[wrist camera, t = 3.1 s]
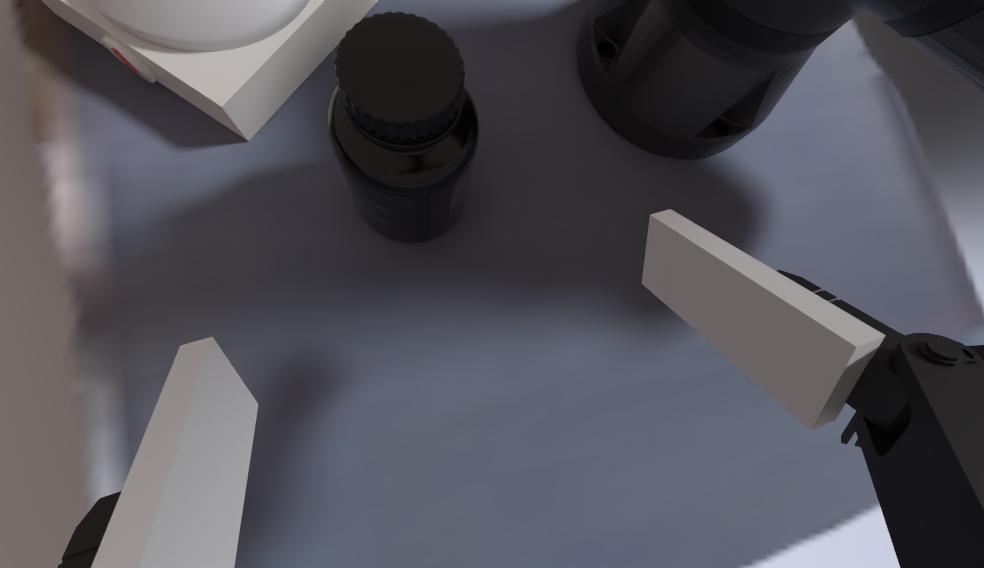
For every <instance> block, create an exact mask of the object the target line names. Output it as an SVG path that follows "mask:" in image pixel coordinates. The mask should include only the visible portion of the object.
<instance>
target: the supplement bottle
mask: <svg viewBox="0 0 984 568" xmlns="http://www.w3.org/2000/svg"><path fill="white" fill-rule="evenodd" d="M334 67H335V70H336V72H335V78H336V81H337V87H336V89H335V90H334V93H333V95H332V97H331V100H330V103H329V108H328V116H327V124H328V132H329V136H330V140H331V143H332V146H333V149H334V152H335V154H336V157H337V159H338V161H339V164H340V166H341V169H342V171H343V173H344V176H345V178H346V181H347V183H348V185H349V188H350V190H351V192H352V195H353V197H354V200H355V202H356V204H357V206H358V208H359V210H360V212H361V214H362V216H363V217H364V219H365V220H366V221H367V223H368V224H369V225H370V226H371V227H372V228H373V229H374V230H376V231H377V232H378V233H380V234H382V235H383V236H385V237H387V238H390V239H393V240H396V241H400V242H408V243H415V242H423V241H427V240H430V239H433V238H435V237H437V236H439V235H441V234H442V233H444V232H445V231H446V230H447V229H449V228H450V227H451V226H452V224H453V223H454V222H455V221H456V219H457V217H458V216H459V214H460V212H461V209H462V206H463V203H464V199H465V195H466V191H467V187H468V182H469V178H470V174H471V170H472V165H473V161H474V157H475V153H476V148H477V144H478V136H479V121H478V115H477V110H476V107H475V104H474V102H473V100H472V97H471V96H470V94H469V92H468V91H467V89H466V88H465V86H464V77H465V71H464V68H463V59H462V58H461V56H460V55H459V49H458V48H457V47H456V46H455V45H454V42H453V39H451V38H450V37H448V36H447V34H446V32H445V31H444V30H442V29H440V28H439V27H438V26H437V25H436V24H435V23H432V22H429V21H428V20H427V19H425V18H423V17H417V16H416V15H414V14H405V13H402V12H397V13H392V12H386V13H384V14H375V15H373V16H372V17H366V18H364V19H363V20H362V21H361V22H359V23H356V24H354V26H353V28H352V29H350V30H348V31H347V32H346V34H345V37H344V38H343V39H342V40H340V47H339V48H338V49H337V50H336V59H335V62H334Z"/></svg>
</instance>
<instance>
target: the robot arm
mask: <svg viewBox="0 0 984 568" xmlns="http://www.w3.org/2000/svg"><path fill="white" fill-rule="evenodd" d="M861 11H864V12H866V13H868V14H870V15H872V16H874V17H875V18H876V19H878V20H880V21H881V22H883V23H884V24H886V25H887V26H889V27H890V28H891V29H893V30H894V31H896V32H898V34H900V35H901V36H903V37H904V38H906V39H907V40H908V41H910V42H911V43H913V44H914V45H916V46H917V47H918V48H920V49H921V50H923V51H924V52H926V53H927V54H928V55H930V56H931V57H932V58H934V59H935V60H937V61H938V62H940V63H941V64H942V65H944V66H945V67H947V68H948V69H949V70H951V71H952V72H954V73H955V74H957V75H958V76H959V77H961V78H962V79H964V80H965V81H966V82H968V83H969V84H971V85H972V86H974V87H975V88H977V89H978V90H979V91H981V92H982V93H983V94H984V0H594V1H593V3H592V5H591V7H590V9H589V11H588V14H587V16H586V18H585V20H584V22H583V25H582V27H581V30H580V34H579V38H578V46H577V59H578V67H579V72H580V75H581V79H582V82H583V85H584V87H585V89H586V92H587V94H588V96H589V98H590V99H591V101H592V103H593V104H594V106H595V107H596V109H597V110H598V112H599V113H600V114H601V115H602V117H603V118H604V119H605V120H606V121H607V122H608V123H609V124H610V125H611V126H612V127H613V128H614V129H615V130H616V131H618V132H619V133H620V134H621V135H623V136H624V137H625V138H627V139H628V140H630V141H631V142H633V143H635V144H636V145H638V146H640V147H642V148H644V149H647V150H649V151H652V152H654V153H657V154H660V155H664V156H668V157H674V158H684V159H692V158H702V157H707V156H711V155H714V154H717V153H720V152H722V151H724V150H726V149H728V148H730V147H731V146H733V145H734V144H735V143H737V142H738V141H740V140H741V139H742V138H744V137H745V136H746V135H748V134H749V133H751V132H752V131H753V130H754V129H756V128H757V127H758V126H759V125H760V124H761V123H762V122H763V121H764V120H765V119H766V118H767V116H768V115H769V114H770V113H771V111H772V110H773V108H774V107H775V105H776V104H777V103H778V101H779V100H780V98H781V97H782V95H783V94H784V93H785V91H786V90H787V88H788V87H789V85H790V84H791V83H792V81H793V80H794V78H795V77H796V75H797V74H798V73H799V71H800V70H801V68H802V67H803V65H804V64H805V63H806V61H807V60H808V58H809V57H810V55H811V54H812V53H813V51H814V50H815V48H816V47H817V46H818V45H819V44H821V43H822V42H823V41H824V40H825V39H827V38H828V37H829V36H830V35H831V34H833V33H834V32H835V31H836V30H837V29H839V28H840V27H841V26H842V25H843V24H845V23H846V22H848V21H849V20H850V19H852V18H853V17H855V16H856V15H857V14H859V13H860V12H861ZM642 284H643V285H644V286H645V287H646V288H647V289H649V290H650V291H651V292H652V293H653V294H654V295H655V296H657V297H658V298H659V299H660V300H661V301H662V302H663V303H665V304H666V305H667V306H668V307H669V308H670V309H671V310H673V311H674V312H675V313H676V314H677V315H678V316H680V317H681V318H682V319H683V320H684V321H685V322H686V323H688V324H689V325H690V326H691V327H692V328H693V329H694V330H696V331H697V332H698V333H699V334H700V335H701V336H703V337H704V338H705V339H706V340H707V341H708V342H709V343H711V344H712V345H713V346H714V347H715V348H716V349H717V350H719V351H720V352H721V353H722V354H723V355H724V356H726V357H727V358H728V359H729V360H730V361H731V362H732V363H734V364H735V365H736V366H737V367H738V368H739V369H740V370H742V371H743V372H744V373H745V374H746V375H747V376H748V377H750V378H751V379H752V380H753V381H754V382H755V383H757V384H758V385H759V386H760V387H761V388H762V389H763V390H765V391H766V392H767V393H768V394H769V395H770V396H771V397H773V398H774V399H775V400H776V401H777V402H778V403H780V404H781V405H782V406H783V407H784V408H785V409H786V410H788V411H789V412H790V413H791V414H792V415H793V416H794V417H796V418H797V419H798V420H799V421H800V422H801V423H803V424H804V425H805V426H806V427H807V428H808V429H809V430H813V429H815V428H818V427H820V426H822V425H824V424H827V423H829V422H831V421H834V420H836V418H837V416H838V415H839V413H840V411H841V410H842V408H843V406H844V405H845V403H847V404H848V405H850V406H851V407H852V408H854V409H855V410H856V413H855V414H854V416H853V417H852V419H851V421H850V422H849V424H848V425H847V427H846V428H845V430H844V432H843V433H842V435H841V443H844V444H847V443H848V442H849V440H850V439H851V437H852V436H853V434H854V432H856V433H857V436H858V440H857V441H856V443H855V446H858V447H861V448H862V451H863V454H864V457H865V460H866V463H867V466H868V470H869V473H870V476H871V479H872V482H873V485H874V488H875V491H876V494H877V497H878V500H879V503H880V506H881V509H882V512H883V515H884V519H885V521H886V525H887V528H888V531H889V534H890V537H891V540H892V543H893V546H894V549H895V552H896V555H897V558H898V562H899V565H900V567H901V568H984V345H978V346H965V345H963V344H962V343H959V342H957V341H954V340H952V339H949V338H947V337H943V336H939V335H934V334H930V333H913V334H909V335H906V336H905V335H903V334H901V333H899V332H897V331H895V330H893V329H892V328H890V327H888V326H886V325H885V324H883V323H881V322H879V321H878V320H876V319H874V318H872V317H871V316H869V315H867V314H865V313H864V312H862V311H860V310H858V309H857V308H855V307H853V306H851V305H850V304H848V303H846V302H844V301H842V300H837V297H835V296H834V295H832V294H830V293H828V292H827V291H822V290H821V288H820V287H818V286H816V285H814V284H813V283H811V282H809V281H807V280H806V279H804V278H802V277H799V276H796V275H793V274H790V273H787V272H784V271H781V270H778V271H775V270H773V269H772V268H770V267H768V266H767V265H765V264H763V263H761V262H760V261H758V260H756V259H755V258H753V257H751V256H750V255H748V254H746V253H744V252H743V251H741V250H739V249H738V248H736V247H734V246H733V245H731V244H729V243H727V242H726V241H724V240H722V239H721V238H719V237H717V236H716V235H714V234H712V233H710V232H709V231H707V230H705V229H704V228H702V227H700V226H698V225H697V224H695V223H693V222H692V221H690V220H688V219H687V218H685V217H683V216H681V215H680V214H678V213H676V212H675V211H673V210H671V209H668V210H665V211H661V212H657V213H654V214H650V219H649V227H648V235H647V243H646V251H645V260H644V268H643V276H642ZM257 411H258V403H257V402H256V400H255V399H254V397H253V396H252V394H251V393H250V391H249V390H248V388H247V387H246V385H245V384H244V382H243V381H242V379H241V378H240V377H239V375H238V374H237V372H236V371H235V369H234V368H233V366H232V365H231V363H230V362H229V360H228V359H227V357H226V356H225V354H224V353H223V351H222V350H221V348H220V347H219V345H218V344H217V343H216V341H215V340H214V338H213V337H209V338H205V339H202V340H198V341H195V342H191V343H188V344H184V345H180V347H179V350H178V352H177V355H176V357H175V360H174V362H173V365H172V367H171V370H170V372H169V375H168V377H167V380H166V382H165V385H164V387H163V390H162V392H161V395H160V397H159V400H158V402H157V405H156V407H155V410H154V412H153V415H152V417H151V420H150V422H149V425H148V427H147V430H146V432H145V435H144V437H143V439H142V442H141V444H140V447H139V449H138V452H137V454H136V457H135V459H134V462H133V464H132V467H131V469H130V472H129V474H128V477H127V479H126V482H125V484H124V487H123V489H122V491H121V492H118V493H115V494H112V495H109V496H106V497H103V498H100V499H99V500H98V501H97V502H96V503H95V505H94V506H93V507H92V508H91V510H90V511H89V512H88V514H87V515H86V516H85V517H84V519H83V520H82V521H81V522H80V524H79V525H78V526H77V527H76V529H75V531H74V533H73V535H72V538H71V540H70V542H69V544H68V546H67V548H66V551H65V553H64V555H63V557H62V560H63V562H62V564H60V565H59V566H58V568H234V566H235V559H236V552H237V545H238V539H239V532H240V525H241V518H242V512H243V505H244V498H245V491H246V485H247V478H248V471H249V465H250V458H251V451H252V444H253V438H254V431H255V424H256V417H257Z"/></svg>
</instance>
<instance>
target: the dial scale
mask: <svg viewBox="0 0 984 568" xmlns="http://www.w3.org/2000/svg"><path fill="white" fill-rule="evenodd" d="M41 1H43V2H44V3H45V4H46V5H47V6H48V7H49V8H50V9H51V10H52V11H53V12H54V13H55V14H56V15H58V16H59V17H61V18H62V19H64V20H65V21H67V22H68V23H70V24H71V25H73V26H74V27H76V28H77V29H79V30H80V31H82V32H83V33H85V34H86V35H88V36H90V37H91V38H93V39H94V40H96V41H97V42H99V43H100V44H102V45H103V46H105V47H106V48H107V49H108V50H109V51H110V52H112V53H113V54H114V55H115V56H116V57H117V58H118V59H119V60H121V61H122V62H123V63H124V64H125V65H127V66H128V67H129V68H130V69H131V70H132V71H133V72H134V73H137V74H138V75H140V76H141V77H143V78H144V79H146V80H147V81H149V82H151V83H154V82H156V81H158V82H159V83H161V84H162V85H164V86H165V87H167V88H168V89H170V90H171V91H173V92H174V93H176V94H177V95H179V96H180V97H182V98H183V99H185V100H187V101H188V102H190V103H191V104H193V105H194V106H196V107H197V108H199V109H200V110H202V111H203V112H205V113H206V114H208V115H209V116H211V117H212V118H214V119H215V120H217V121H218V122H220V123H221V124H223V125H224V126H226V127H227V128H229V129H230V130H232V131H234V132H235V133H237V134H238V135H240V136H241V137H243V138H244V139H246V140H247V141H250V140H251V139H252V137H253V136H254V135H255V134H256V133H257V132H258V131H259V130H260V129H261V128H262V127H263V125H264V124H265V123H266V122H267V121H268V120H269V119H270V118H271V117H272V116H273V115H274V114H275V112H276V111H277V110H278V109H279V108H280V107H281V106H282V105H283V104H284V103H285V102H286V101H287V99H288V98H289V97H290V96H291V95H292V94H293V93H294V92H295V91H296V90H297V89H298V87H299V86H300V85H301V84H302V83H303V82H304V81H305V80H306V79H307V78H308V77H309V76H310V74H311V73H312V72H313V71H314V70H315V69H316V68H317V67H318V66H319V65H320V64H321V62H322V61H323V60H324V59H325V58H326V57H327V56H328V55H329V54H330V53H331V52H332V51H333V49H334V48H335V47H336V46H337V45H338V44H339V43H340V40H342V39H343V38H344V37H345V34H346V32H347V31H348V30H350V29H352V28H353V26H354V24H356V23H358V22H359V21H360V20H361V19H362V18H363V17H364V16H365V15H366V14H367V13H368V11H369V10H370V9H371V8H372V7H373V6H374V5H375V4H376V3H377V2H378V1H379V0H41Z"/></svg>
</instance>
